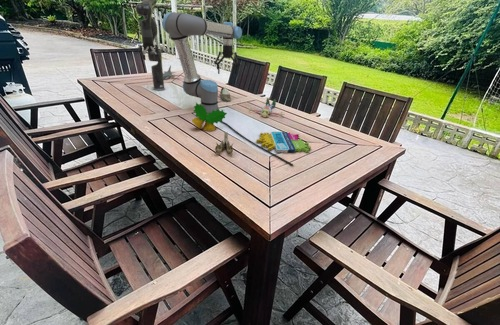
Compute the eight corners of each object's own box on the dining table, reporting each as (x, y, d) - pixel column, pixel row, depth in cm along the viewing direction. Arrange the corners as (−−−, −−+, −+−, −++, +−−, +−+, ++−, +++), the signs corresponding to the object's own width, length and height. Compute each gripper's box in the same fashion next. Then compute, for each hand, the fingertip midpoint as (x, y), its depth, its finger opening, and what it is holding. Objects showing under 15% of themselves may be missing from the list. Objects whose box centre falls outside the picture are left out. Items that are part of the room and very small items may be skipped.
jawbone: (234, 135, 144) (233, 125, 135) (233, 160, 138) (232, 151, 129) (217, 135, 144) (216, 125, 135) (216, 160, 138) (214, 150, 129)
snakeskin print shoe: (221, 102, 216) (221, 90, 212) (218, 94, 237) (218, 83, 233) (231, 102, 218) (232, 90, 214) (227, 94, 239) (227, 83, 234)
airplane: (146, 75, 285) (145, 65, 280) (175, 73, 298) (174, 64, 293) (152, 84, 257) (151, 73, 252) (184, 82, 270) (183, 72, 265)
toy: (288, 100, 208) (284, 110, 182) (287, 109, 211) (283, 120, 186) (254, 96, 213) (245, 105, 187) (254, 104, 216) (245, 115, 190)
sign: (313, 150, 142) (258, 149, 139) (312, 153, 143) (258, 152, 140) (301, 132, 164) (254, 130, 161) (301, 134, 165) (254, 133, 162)
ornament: (218, 133, 171) (224, 110, 169) (221, 134, 163) (227, 111, 161) (186, 125, 162) (192, 101, 160) (189, 126, 155) (195, 101, 153)
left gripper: (153, 35, 198) (156, 58, 206) (135, 35, 189) (138, 59, 196) (158, 36, 193) (161, 60, 201) (140, 36, 184) (143, 61, 192)
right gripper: (242, 45, 205) (241, 73, 215) (210, 43, 199) (211, 72, 209) (244, 46, 199) (243, 75, 209) (211, 44, 193) (212, 74, 203)
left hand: (149, 59), depth 199 cm, fingers open, 8 cm apart
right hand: (227, 73), depth 209 cm, fingers open, 13 cm apart
